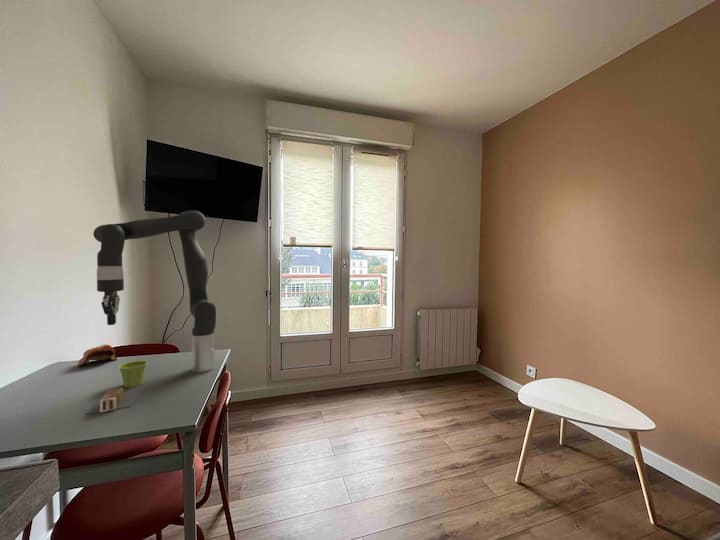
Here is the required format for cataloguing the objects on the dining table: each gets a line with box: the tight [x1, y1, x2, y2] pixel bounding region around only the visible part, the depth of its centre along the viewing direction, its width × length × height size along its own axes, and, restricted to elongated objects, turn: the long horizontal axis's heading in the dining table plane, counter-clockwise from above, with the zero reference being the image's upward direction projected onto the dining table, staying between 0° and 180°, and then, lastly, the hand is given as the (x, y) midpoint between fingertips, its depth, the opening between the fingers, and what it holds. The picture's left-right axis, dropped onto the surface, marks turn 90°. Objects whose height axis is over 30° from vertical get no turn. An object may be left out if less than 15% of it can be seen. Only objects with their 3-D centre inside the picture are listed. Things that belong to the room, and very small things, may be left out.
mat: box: [85, 391, 140, 415], centre depth 103 cm, size 12×12×1 cm
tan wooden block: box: [99, 387, 124, 413], centre depth 101 cm, size 4×4×9 cm
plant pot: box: [118, 360, 148, 388], centre depth 118 cm, size 9×9×9 cm
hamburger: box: [77, 344, 118, 367], centre depth 141 cm, size 16×13×10 cm
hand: (111, 324), depth 107 cm, fingers closed
